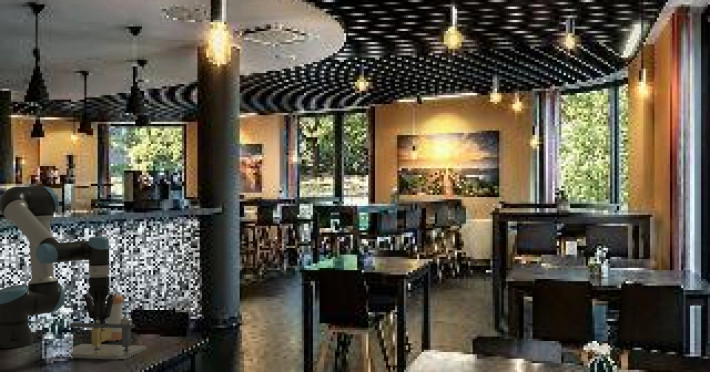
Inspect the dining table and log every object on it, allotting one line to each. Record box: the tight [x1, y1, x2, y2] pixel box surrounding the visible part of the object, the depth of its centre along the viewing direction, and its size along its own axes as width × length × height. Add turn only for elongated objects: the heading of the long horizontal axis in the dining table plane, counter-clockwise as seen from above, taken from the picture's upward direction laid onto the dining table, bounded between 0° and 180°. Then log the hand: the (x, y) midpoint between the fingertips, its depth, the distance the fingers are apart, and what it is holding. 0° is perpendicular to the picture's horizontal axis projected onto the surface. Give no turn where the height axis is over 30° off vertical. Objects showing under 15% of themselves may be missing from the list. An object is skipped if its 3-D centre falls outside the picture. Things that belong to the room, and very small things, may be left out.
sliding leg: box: [91, 327, 111, 348], centre depth 260 cm, size 3×9×8 cm, turn 169°
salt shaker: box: [106, 292, 125, 342], centre depth 281 cm, size 7×7×19 cm
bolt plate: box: [71, 343, 148, 361], centre depth 256 cm, size 28×16×2 cm, turn 79°
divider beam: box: [69, 317, 136, 349], centre depth 256 cm, size 26×4×11 cm, turn 79°
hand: (99, 336), depth 263 cm, fingers closed
